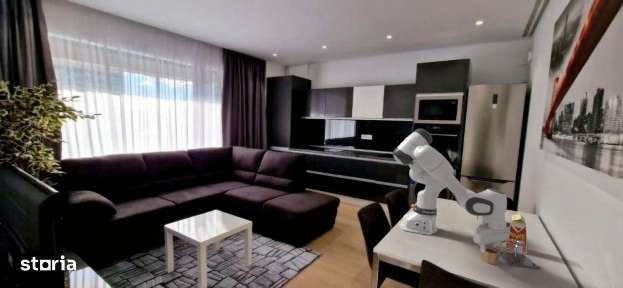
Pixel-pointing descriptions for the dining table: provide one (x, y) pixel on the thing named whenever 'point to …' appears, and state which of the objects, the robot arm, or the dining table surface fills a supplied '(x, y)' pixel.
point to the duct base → (518, 262)
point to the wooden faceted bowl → (490, 256)
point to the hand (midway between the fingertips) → (489, 250)
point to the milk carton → (517, 233)
